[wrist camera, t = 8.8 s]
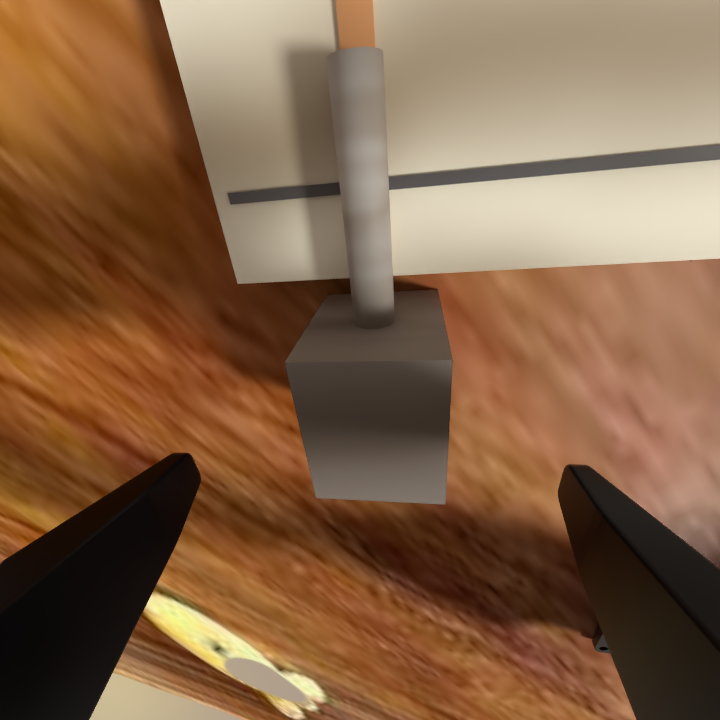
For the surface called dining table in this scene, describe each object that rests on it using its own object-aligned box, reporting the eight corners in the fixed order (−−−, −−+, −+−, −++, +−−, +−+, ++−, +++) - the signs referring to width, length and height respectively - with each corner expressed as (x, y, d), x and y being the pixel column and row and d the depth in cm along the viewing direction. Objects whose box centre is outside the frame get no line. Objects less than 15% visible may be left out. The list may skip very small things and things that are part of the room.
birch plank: (1035, 225, 9) (1150, 237, 8) (255, 271, 12) (236, 285, 11) (1515, -346, 5) (1930, -536, 4) (177, -49, 8) (131, -90, 7)
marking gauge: (435, 402, 14) (445, 504, 10) (343, 402, 15) (316, 498, 11) (442, 70, 9) (471, -13, 5) (298, 90, 10) (207, 35, 5)
